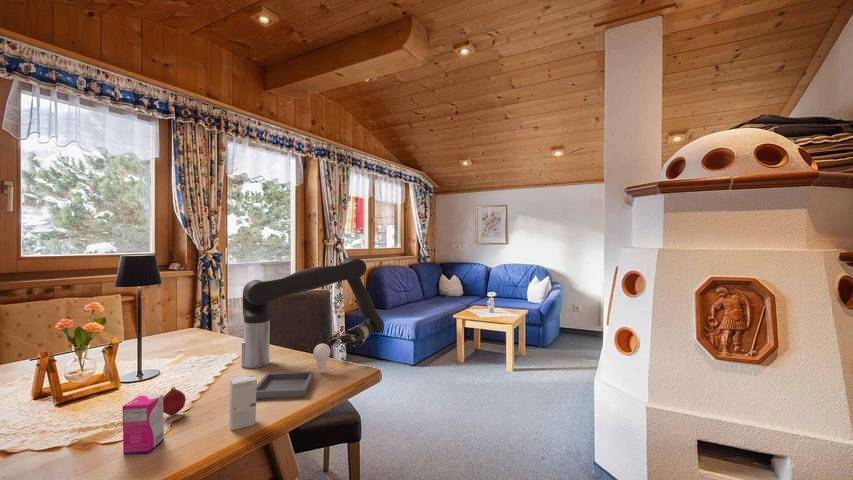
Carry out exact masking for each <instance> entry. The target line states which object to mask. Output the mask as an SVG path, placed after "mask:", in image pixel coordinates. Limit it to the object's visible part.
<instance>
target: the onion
mask: <svg viewBox="0 0 853 480" xmlns="http://www.w3.org/2000/svg"><path fill="white" fill-rule="evenodd" d="M185 405H186V395H185V394H184V393H183V392H182V391H181V390H179V389H177V388H176V387H175V386H171V388H170V390H169V391H168V392H167V393H165V395H163V414H165V415H168V416H171V417H174V416H176V414H178V413H179V412H180V411H181V410H182V409H183V408H184V406H185ZM173 415H174V416H173Z"/></svg>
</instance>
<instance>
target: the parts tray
mask: <svg viewBox="0 0 853 480" xmlns="http://www.w3.org/2000/svg"><path fill="white" fill-rule="evenodd" d="M314 375H315V372H314V371H293V372H292V371H291V372H289V371H288V372H267V373H265V375H264V376H263V378H261V380H260V381H259V382H257V389H256V401H262V400H286V399H305V398H306V396H307V393H308V392H309V390H310V387H311V385H312V383H313V381H314V379H315V376H314Z"/></svg>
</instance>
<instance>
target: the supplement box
mask: <svg viewBox="0 0 853 480" xmlns="http://www.w3.org/2000/svg"><path fill="white" fill-rule="evenodd" d="M163 397H164V394H148V395H147V394H146V395H144V394H143V395H138V396H137V397H135V398H133V399H132V400H130V401H129V402H127V403H126V404H124V405H122V445H123V446H122V447H123V448H122V452H123V453H122V454H123V455H125V456H126V455H127V456H128V455H149V454H150V453H151V452H153V451H154V450H155V449H156V448H158V446H159V445H160V444H162V443H163V442H164V441H165V432H164V431H165V430H164V429H165V426H164V425H165V424H164V421H165V420H164V412H163Z"/></svg>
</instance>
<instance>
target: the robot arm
mask: <svg viewBox="0 0 853 480" xmlns="http://www.w3.org/2000/svg"><path fill="white" fill-rule="evenodd" d="M366 272H367V263H365V261H363V260H362V259H360V258H356V257H352V256H351V257H346V258H344V259H343V260H342V262H341V263H340V264H336V265H329V266H328V265H323V266H314V267H309V268H305V269H301V270H297V271H295V272H293V273H291V274H288V275H286V276H285V277H282V278H277V279H272V280H265V281H264V280H260V279H253V280H250V281H248V282H247V283H246V284H245V285H244V287H243V290H242V314H243V341H242V342H241V368H246V369H258V368H259V369H260V368H262V367H265V366H268V365H269V364H270V323H271V322H270V321H271V320H270V319H271V318H270V317H271V315H270V314H271V313H270V312H269V307H268V306H269V304H268V303H270V302H272V301H275V300H277V299H280V298H283V297H287V296H291V295H296V294H300V293H305V292H308V291H312V290H317V289H320V288H323V287H326V286H329V285H332V284H333V285H334V284H336V283H339V282H343V281H347V283H348V285H349V287H350V289H351V292H352V294H353V296H354V298H355V300H356V303H357V306H358V309H359V312H360V315H361V316H362V317H363V318H365V319H364V320H363V321H362V322H361V324H358V325H355V326H353V327H351V328H349V329H347V330H346V331H345V333H344V334H342V335H340V334H338V333H336V334H334V335H331V336H330V337H328V341H327V345H328V346H329V347H332V346H335V345H346V349H351V348H352V347H356V346H357V347H361V346H362V345H363V344H365V343H366V339H368V338H370V337H371V336H372V334H373V335H374V334H380V333H382V332H383V331H384V329H385V322H384V320H383V319H382V317H381V316H380V314H379V313H378V312H377V310H376V308H375V305H374V303H373V300H372V297H371V295H370V293H369V292H368V290H367V289H366V287H365V284H363V282H362V279H361V277H363V276H364V275H365V274H366ZM362 317H361V318H362Z"/></svg>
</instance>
